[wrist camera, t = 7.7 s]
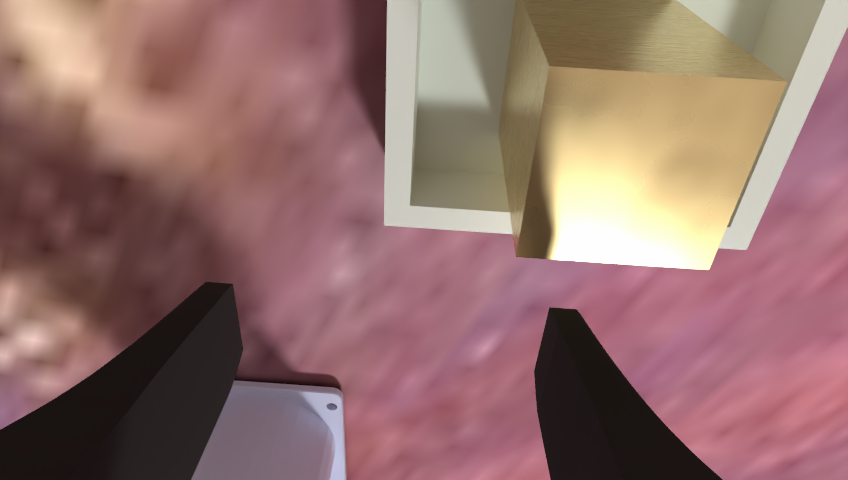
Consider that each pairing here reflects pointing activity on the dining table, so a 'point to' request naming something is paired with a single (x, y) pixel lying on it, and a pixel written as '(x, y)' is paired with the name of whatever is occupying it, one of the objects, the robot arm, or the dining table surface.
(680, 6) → the tea tin
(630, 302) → the dining table surface
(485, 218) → the tote
